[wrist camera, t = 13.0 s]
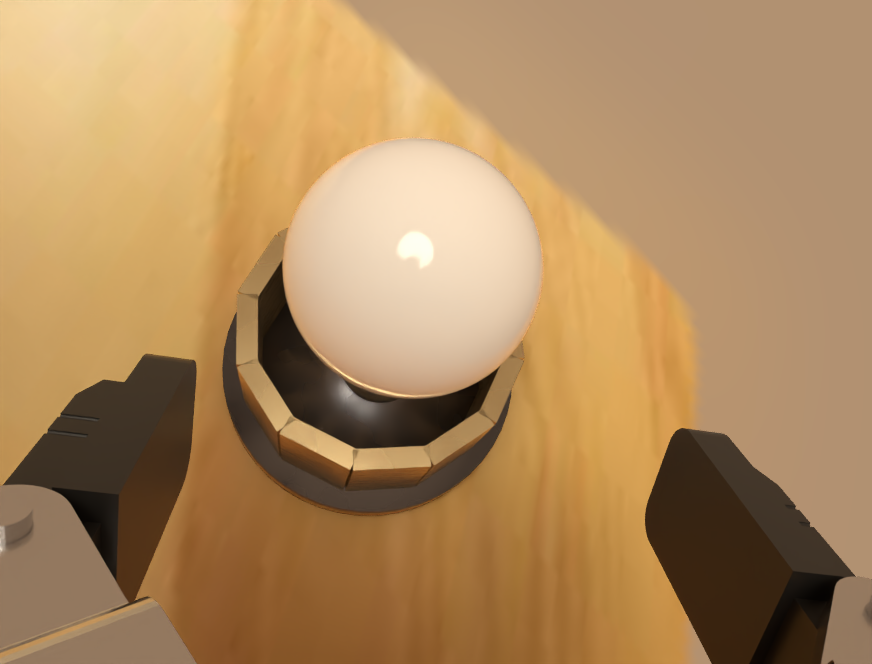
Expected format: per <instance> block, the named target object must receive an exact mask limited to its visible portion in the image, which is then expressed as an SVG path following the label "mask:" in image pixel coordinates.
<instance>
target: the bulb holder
mask: <svg viewBox="0 0 872 664" xmlns="http://www.w3.org/2000/svg"><path fill="white" fill-rule="evenodd" d="M287 232H288V228H286V229H284V230H282V231H280V232H278V236H277V235H275V236H274V238H273V239H272V241H271V242H270V244H269V245H268V247H267V248H266V250H265V251H264V253H263V254H262V256H261V257H260V259H259V260H258V262H257V263H256V265H255V266H254V268H253V269H252V271H251V272H250V274H249V275H248V277H247V278H246V280H245V281H244V283H243V284H242V286H241V287H240V289H239V290H238V294H237V312H236V314H235V316H234V319H233V321H232V324H231V326H230V329H229V331H228V335H227V340H226V344H225V348H224V357H223V387H224V392H225V397H226V402H227V406H228V410H229V413H230V416H231V419H232V421H233V424H234V427H235V430H236V432H237V434H238V436H239V438H240V440H241V442H242V444H243V446H244V448H245V449H246V450H247V452H248V453H249V455H250V456H251V457H252V459H253V460H254V462H255V463H256V464H257V465H258V466H259V467H260V468H261V469H262V471H263V472H264V473H265V474H266V475H267V476H268V477H269V478H270V479H272V480H273V481H274V482H275V483H277V484H278V485H279V486H280V487H282V488H283V489H284V490H286V491H287V492H289V493H291V494H292V495H294V496H296V497H297V498H299V499H301V500H303V501H305V502H308V503H310V504H312V505H315V506H317V507H319V508H323V509H326V510H330V511H334V512H337V513H343V514H351V515H358V516H378V515H386V514H393V513H399V512H402V511H406V510H410V509H414V508H417V507H419V506H421V505H424V504H426V503H428V502H431V501H433V500H435V499H436V498H438V497H440V496H441V495H443V494H445V493H446V492H448V491H450V490H451V489H452V488H453V487H455V486H456V485H457V484H458V483H460V482H461V481H462V480H463V479H465V478H466V477H467V476H468V475H469V474H470V473H471V472H472V471H473V470H474V469H475V468H476V467H477V466H478V465H479V464H480V463H481V462H482V460H483V459H484V458H485V456H486V455H487V453H488V452H489V451H490V449H491V448H492V446H493V445H494V443H495V441H496V439H497V437H498V435H499V433H500V431H501V429H502V427H503V424H504V421H505V418H506V415H507V412H508V408H509V403H510V398H511V389H512V387H513V385H514V382H515V380H516V378H517V376H518V373H519V371H520V369H521V367H522V364H523V362H524V361H523V359H524V351H523V343H522V341H521V342H520V344H519V345H518V347H517V348H516V349H515V351H514V352H513V353H512V354H511V355H510V356H509V357H508V359H507V360H506V361H505V362H504V363H503V364H502V365H500V366H499V367H498V368H497V369H496V370H495V371H493V372H492V373H491V374H489V375H488V376H486V377H485V378H483V379H482V380H480V381H479V382H477V383H475V384H473V385H471V386H469V387H467V388H465V389H462V390H460V391H457V392H454V393H451V394H448V395H444V396H439V397H434V398H426V399H398V400H395V401H392V402H387V403H376V402H371V401H367V400H365V399H363V398H361V397H359V396H358V395H356V394H355V393H354V392H353V391H352V390H351V389H350V388H349V387H348V385H347V384H346V382H345V381H344V379H343V378H341V377H340V376H338V375H337V374H336V373H334V372H333V371H332V370H330V369H329V368H328V367H327V366H326V365H325V364H324V363H323V362H322V361H321V360H320V359H319V358H318V357H317V356H316V355H315V354H314V353H313V352H312V350H311V349H310V348H309V346H308V345H307V344H306V342H305V341H304V339H303V338H302V336H301V334H300V333H299V331H298V329H297V327H296V325H295V323H294V321H293V318H292V316H291V313H290V310H289V307H288V304H287V300H286V296H285V291H284V284H283V271H282V266H283V251H284V245H285V240H286V235H287Z"/></svg>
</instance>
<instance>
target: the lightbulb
mask: <svg viewBox="0 0 872 664" xmlns="http://www.w3.org/2000/svg"><path fill="white" fill-rule="evenodd" d="M282 271H283V284H284V291H285V296H286V300H287V304H288V307H289V310H290V313H291V316H292V318H293V321H294V323H295V325H296V327H297V329H298V331H299V333H300V334H301V336H302V338H303V339H304V341H305V342H306V344H307V345H308V346H309V348H310V349H311V350H312V352H313V353H314V354H315V355H316V356H317V357H318V358H319V359H320V360H321V361H322V362H323V363H324V364H325V365H326V366H327V367H328V368H329V369H330V370H332V371H333V372H334V373H336V374H337V375H338V376H340V377H341V378H343V379H344V381H345V382H346V384H347V385H348V387H349V388H350V389H351V390H352V391H353V392H354V393H355V394H356V395H358V396H359V397H361V398H363V399H365V400H367V401H371V402H376V403H387V402H392V401H395V400H398V399H426V398H434V397H439V396H444V395H448V394H451V393H454V392H457V391H460V390H462V389H465V388H467V387H469V386H471V385H473V384H475V383H477V382H479V381H480V380H482V379H483V378H485V377H486V376H488V375H489V374H491V373H492V372H493V371H495V370H496V369H497V368H498V367H499V366H500V365H502V364H503V363H504V362H505V361H506V360H507V359H508V357H509V356H510V355H511V354H512V353H513V352H514V351H515V349H516V348H517V347H518V345H519V344H520V342H521V341H522V339H523V338H524V336H525V335H526V333H527V331H528V329H529V327H530V325H531V323H532V321H533V319H534V316H535V313H536V311H537V308H538V304H539V300H540V296H541V291H542V284H543V253H542V246H541V241H540V237H539V233H538V230H537V226H536V224H535V221H534V219H533V216H532V214H531V212H530V210H529V208H528V206H527V204H526V202H525V201H524V199H523V197H522V196H521V194H520V193H519V192H518V190H517V189H516V188H515V186H514V185H513V184H512V183H511V182H510V180H509V179H508V178H507V177H506V176H505V175H504V174H503V173H502V172H501V171H500V170H498V169H497V168H496V167H495V166H494V165H492V164H491V163H490V162H488V161H487V160H485V159H484V158H482V157H481V156H479V155H477V154H476V153H474V152H472V151H470V150H468V149H465V148H463V147H461V146H458V145H455V144H452V143H449V142H445V141H441V140H436V139H430V138H419V137H405V138H395V139H389V140H384V141H380V142H376V143H373V144H370V145H367V146H365V147H362V148H360V149H358V150H356V151H354V152H352V153H350V154H348V155H346V156H345V157H343V158H342V159H340V160H339V161H337V162H336V163H335V164H333V165H332V166H331V167H330V168H328V169H327V170H326V171H325V172H324V173H323V174H322V175H321V176H320V177H319V178H318V179H317V180H316V181H315V182H314V183H313V185H312V186H311V187H310V188H309V190H308V191H307V192H306V194H305V195H304V197H303V198H302V200H301V202H300V203H299V205H298V207H297V209H296V211H295V213H294V215H293V217H292V220H291V223H290V225H289V228H288V232H287V235H286V240H285V245H284V251H283V266H282Z"/></svg>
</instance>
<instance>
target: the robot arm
mask: <svg viewBox="0 0 872 664" xmlns="http://www.w3.org/2000/svg"><path fill="white" fill-rule="evenodd" d="M195 387H196V362H195V361H194V360H189V359H181V358H174V357H167V356H159V355H152V354H145V355H144V356H143V357H142V358H141V360H140V361H139V363H138V364H137V366H136V367H135V368H134V370H133V371H132V373H131V374H130V376H129V377H128V378H127V380H126V381H125V382H117V381H110V380H102V381H100V382H98V383H97V384H95V385H93V386H91V387H89V388H87V389H85V390H83V391H81V392H79V393H78V394H76V395H75V396H74V398H73V399H72V400H71V401H70V403H69V404H68V405H67V406H66V407H65V409H64V410H63V411H62V412H61V416H60V417H57V419H56V420H55V421H54V422H53V424H52V425H51V426H50V427H49V429H48V432H47V434H44V435H43V436H42V437H41V439H40V440H39V441H38V442H37V444H36V445H35V446H34V447H33V449H32V450H31V451H30V452H29V454H28V455H27V456H26V457H25V458H24V460H23V461H22V462H21V463H20V465H19V466H18V467H17V468H16V470H15V471H14V472H13V473H12V475H11V476H10V477H9V478H8V480H7V481H6V482H5V483H4V485H3V486H0V664H197V663H196V662H195V660H194V658H193V657H192V655H191V654H190V652H189V650H188V649H187V647H186V646H185V644H184V642H183V641H182V639H181V638H180V636H179V634H178V633H177V631H176V630H175V628H174V626H173V625H172V623H171V622H170V620H169V618H168V617H167V615H166V614H165V612H164V611H163V609H162V608H161V606H160V605H159V604H158V603H157V602H156V601H155V600H154V599H153V598H151V597H144V598H141V599H138V600H135V598H136V596H137V593H138V591H139V589H140V586H141V584H142V581H143V579H144V577H145V574H146V572H147V570H148V567H149V565H150V562H151V560H152V558H153V555H154V553H155V550H156V548H157V546H158V543H159V541H160V539H161V536H162V534H163V531H164V529H165V527H166V524H167V522H168V520H169V517H170V515H171V512H172V510H173V508H174V505H175V503H176V501H177V498H178V496H179V493H180V491H181V489H182V486H183V483H184V480H185V477H186V473H187V469H188V464H189V459H190V452H191V443H192V429H193V415H194V401H195ZM795 507H796V506H795V504H794V503H793V502H792V501H791V500H790V499H789V497H788V496H787V495H786V494H785V493H784V492H783V490H782V489H781V488H780V487H779V486H778V485H777V484H776V483H774V482H773V481H772V480H770V479H769V478H768V477H766V476H765V475H764V474H762V473H761V472H759V471H758V470H757V469H755V468H754V467H753V466H752V465H751V464H750V462H749V461H748V460H747V459H746V458H745V457H744V455H743V454H742V453H741V452H740V450H739V449H738V448H737V447H736V446H735V444H734V443H733V442H732V441H731V440H730V438H729V437H728V436H727V435H725V434H721V433H714V432H706V431H699V430H692V429H685V428H681V429H679V430H677V431H676V432H675V433H674V434H673V436H672V438H671V440H670V442H669V445H668V448H667V450H666V453H665V456H664V459H663V461H662V464H661V467H660V470H659V472H658V475H657V478H656V481H655V483H654V486H653V489H652V492H651V494H650V497H649V500H648V503H647V507H646V513H645V527H646V533H647V537H648V540H649V542H650V544H651V546H652V548H653V550H654V552H655V554H656V556H657V558H658V559H659V561H660V563H661V565H662V567H663V569H664V571H665V573H666V575H667V577H668V579H669V581H670V583H671V585H672V587H673V589H674V591H675V593H676V595H677V597H678V599H679V600H680V602H681V604H682V606H683V608H684V610H685V612H686V614H687V616H688V618H689V620H690V622H691V624H692V626H693V628H694V630H695V632H696V634H697V636H698V638H699V640H700V641H701V643H702V645H703V647H704V649H705V651H706V653H707V655H708V657H709V659H710V661H711V663H712V664H872V579H868V578H863V577H856V576H855V575H854V574H853V573H852V572H851V570H850V569H849V568H848V567H847V566H846V565H845V563H844V562H843V561H842V560H841V559H840V558H839V556H838V555H837V554H836V553H835V552H834V550H833V549H832V548H831V547H830V546H829V544H827V542H826V541H825V540H824V539H823V537H822V536H821V535H820V534H819V533H818V532H817V530H816V529H815V528H814V527H810V522H809V521H808V520H807V519H806V517H805V516H804V515H803V514H802V513H801V512H800V511H799V510H796V509H795ZM134 600H135V601H134Z"/></svg>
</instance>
